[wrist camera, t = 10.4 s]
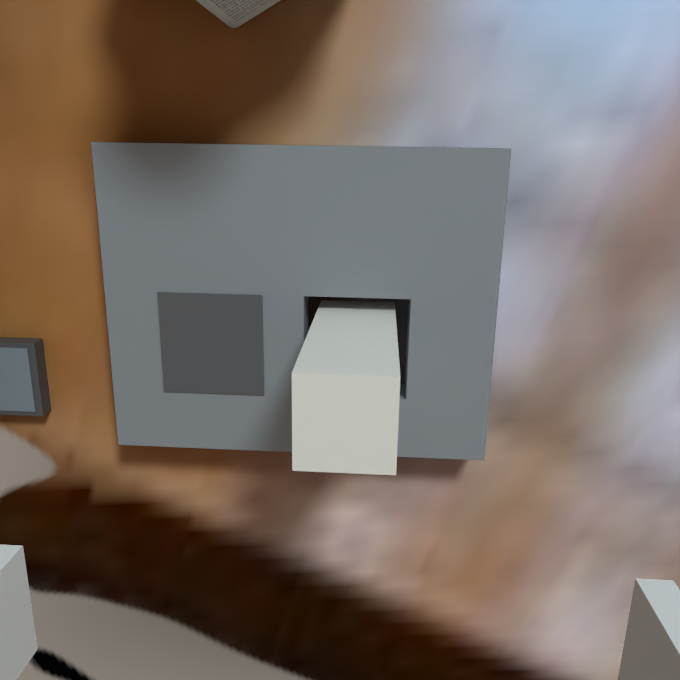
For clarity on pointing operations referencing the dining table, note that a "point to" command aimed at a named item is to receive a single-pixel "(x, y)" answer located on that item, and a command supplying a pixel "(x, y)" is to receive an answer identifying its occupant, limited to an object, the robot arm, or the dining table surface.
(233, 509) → the dining table surface
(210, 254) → the outlet plate
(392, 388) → the light grey rectangular block
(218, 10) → the container
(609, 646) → the dining table surface
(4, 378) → the phone
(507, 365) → the dining table surface
